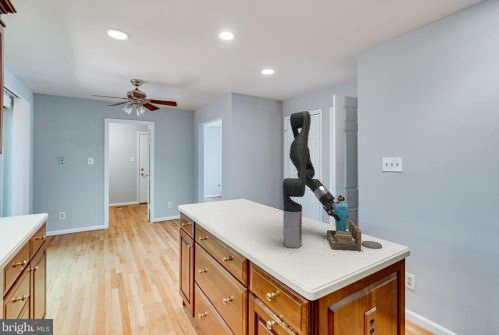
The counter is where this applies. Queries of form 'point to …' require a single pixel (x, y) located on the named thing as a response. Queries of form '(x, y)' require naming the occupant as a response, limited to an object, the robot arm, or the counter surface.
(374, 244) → the coaster
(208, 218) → the counter surface
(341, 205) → the tube
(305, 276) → the counter surface
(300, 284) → the counter surface
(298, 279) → the counter surface
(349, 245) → the rack
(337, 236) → the offcut stack
